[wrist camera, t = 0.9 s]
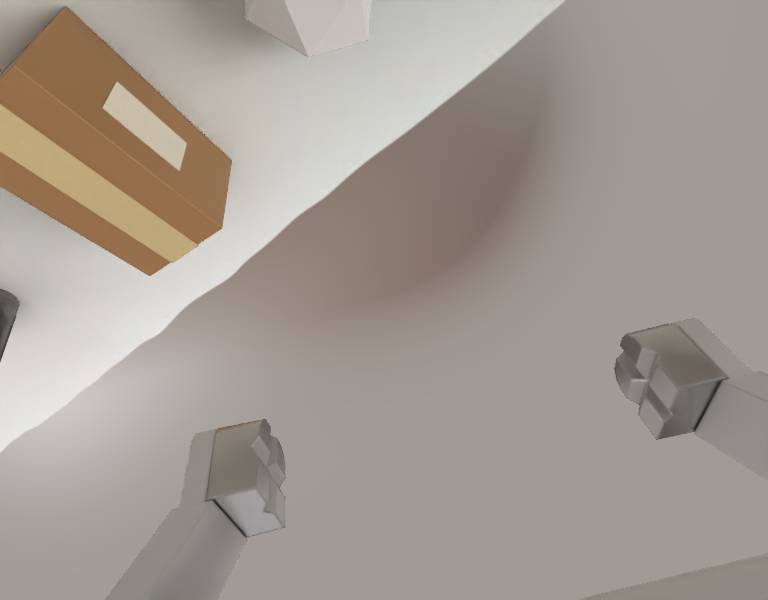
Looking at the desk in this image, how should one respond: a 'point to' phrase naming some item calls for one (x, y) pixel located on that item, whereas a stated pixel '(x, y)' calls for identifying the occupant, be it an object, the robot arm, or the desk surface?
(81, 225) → the carton
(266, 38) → the desk surface
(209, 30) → the desk surface
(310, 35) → the die
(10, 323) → the beverage cup
